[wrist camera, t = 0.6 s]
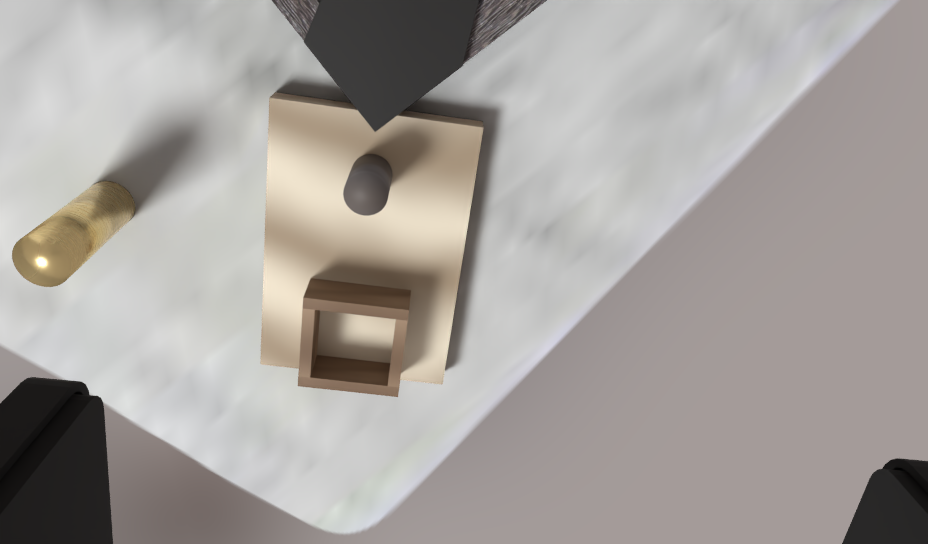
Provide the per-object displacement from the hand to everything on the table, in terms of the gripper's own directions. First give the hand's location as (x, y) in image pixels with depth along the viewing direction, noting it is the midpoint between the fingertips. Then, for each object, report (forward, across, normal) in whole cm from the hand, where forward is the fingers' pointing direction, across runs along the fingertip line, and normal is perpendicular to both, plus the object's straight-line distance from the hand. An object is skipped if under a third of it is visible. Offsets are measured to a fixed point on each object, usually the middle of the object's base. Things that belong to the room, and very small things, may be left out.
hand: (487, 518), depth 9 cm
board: (+29, +4, +8) cm, 30 cm away
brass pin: (+29, +16, +7) cm, 34 cm away
